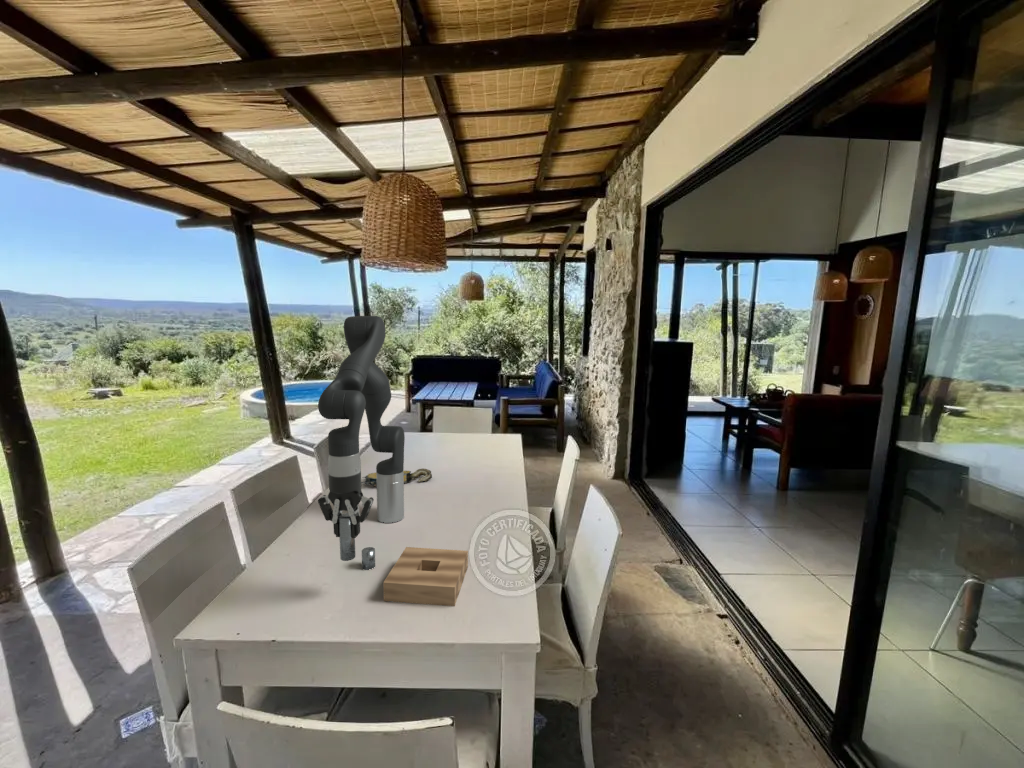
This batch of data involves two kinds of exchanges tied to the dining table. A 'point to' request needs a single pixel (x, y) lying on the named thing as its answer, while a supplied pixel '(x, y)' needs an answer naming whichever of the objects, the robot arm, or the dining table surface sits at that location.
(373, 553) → the short pin
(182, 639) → the dining table surface
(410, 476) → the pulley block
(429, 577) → the block
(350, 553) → the long pin
